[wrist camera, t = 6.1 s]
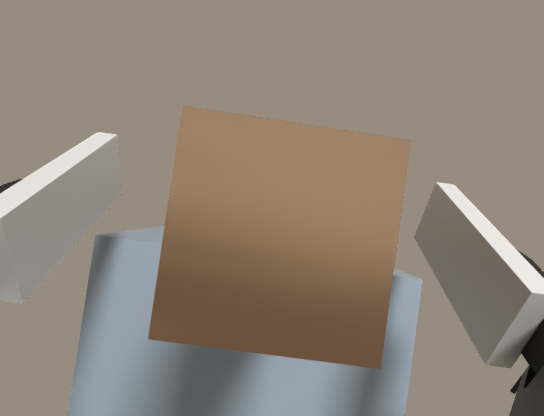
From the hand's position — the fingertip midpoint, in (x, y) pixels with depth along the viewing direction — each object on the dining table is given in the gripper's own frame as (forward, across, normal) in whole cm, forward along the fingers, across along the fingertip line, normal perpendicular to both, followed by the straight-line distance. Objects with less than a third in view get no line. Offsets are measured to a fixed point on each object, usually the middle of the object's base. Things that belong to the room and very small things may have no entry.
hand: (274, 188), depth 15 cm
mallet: (0, 0, -4) cm, 4 cm away
